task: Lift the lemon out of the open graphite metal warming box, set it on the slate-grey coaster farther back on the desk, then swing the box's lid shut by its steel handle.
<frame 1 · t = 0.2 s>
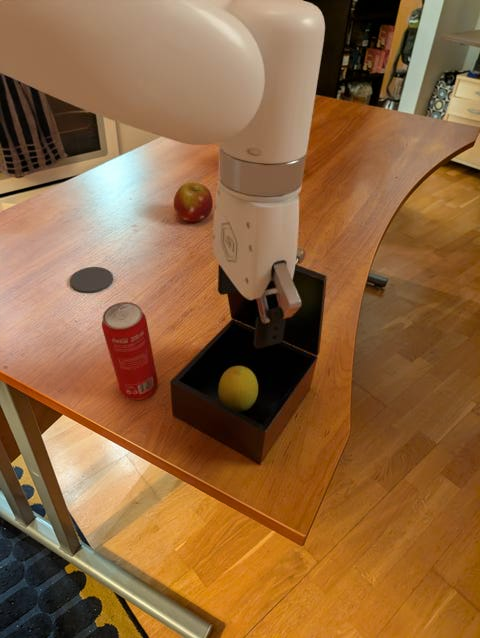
hand: (248, 316, 52), 21 cm above the table, tool pointing down, fingers open, 9 cm apart
warmer lid: (279, 289, 63), point 16 cm above the table, hinge at 75.0°
coaster: (91, 280, 89), on the table
warmer: (243, 402, 68), on the table
fruit: (193, 218, 110), on the table
liquor: (289, 178, 130), on the table
lemon: (236, 408, 67), point 1 cm above the table, touching warmer
beverage can: (136, 388, 70), on the table
smartphone: (289, 296, 89), on the table
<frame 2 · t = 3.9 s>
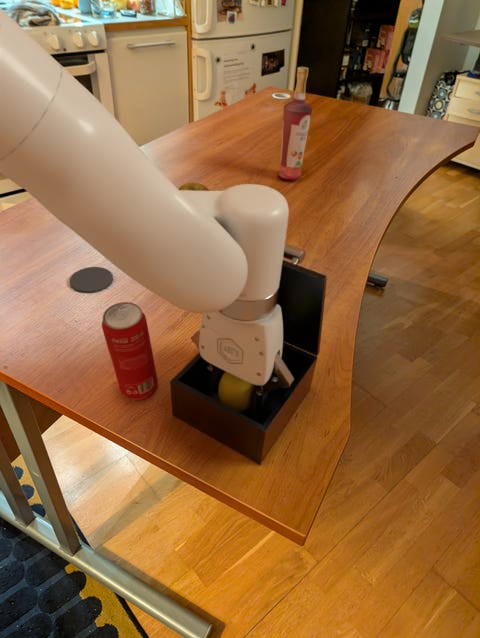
hand: (237, 394, 65), 4 cm above the table, tool pointing down, fingers closed on lemon, 5 cm apart
lemon: (236, 408, 67), point 1 cm above the table, touching gripper, warmer
everything else where it was.
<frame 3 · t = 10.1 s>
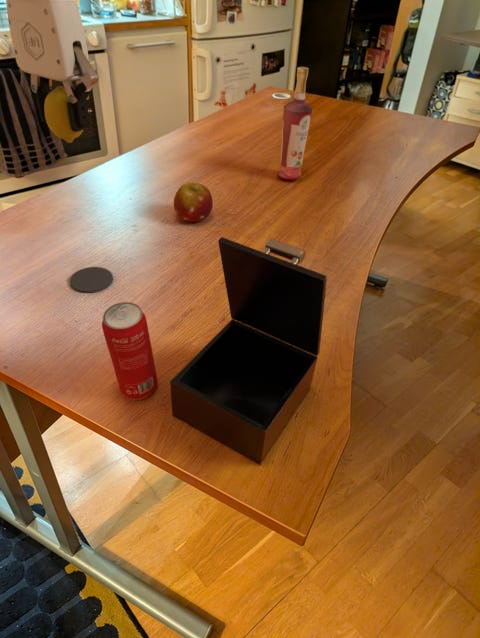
hand: (65, 123, 69), 30 cm above the table, tool pointing down, fingers closed on lemon, 5 cm apart
lemon: (70, 144, 71), point 27 cm above the table, touching gripper
everything else where it was.
when the fingers open (3 cm above the table, at t = 16.3 s): lemon stays where it is, resting on coaster.
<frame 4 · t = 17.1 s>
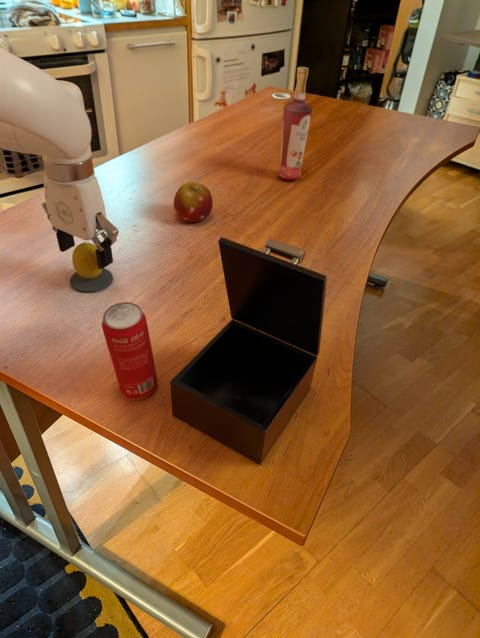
hand: (86, 256, 85), 6 cm above the table, tool pointing down, fingers open, 9 cm apart
lemon: (91, 279, 89), resting on coaster
everything else where it was.
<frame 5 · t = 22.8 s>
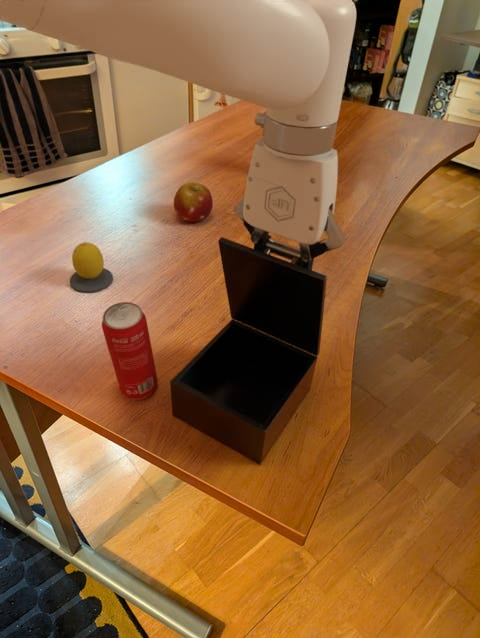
hand: (280, 272, 61), 19 cm above the table, tool pointing down, fingers closed on warmer lid, 5 cm apart
warmer lid: (279, 289, 63), point 16 cm above the table, hinge at 75.0°, touching gripper
everything else where it was.
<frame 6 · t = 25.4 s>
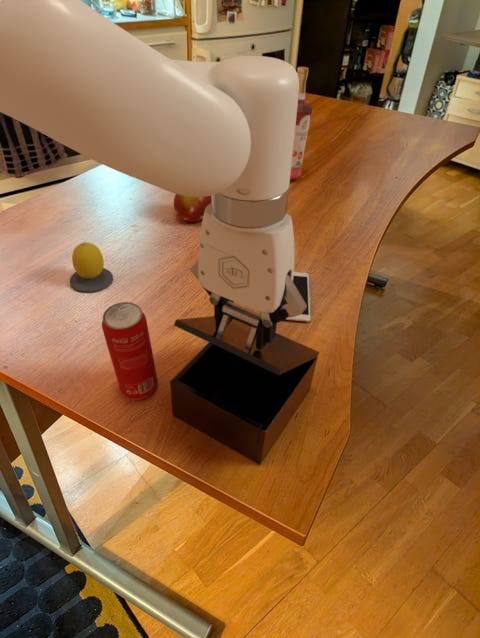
hand: (244, 332, 57), 15 cm above the table, tool pointing down, fingers closed on warmer lid, 5 cm apart
warmer lid: (257, 324, 61), point 14 cm above the table, hinge at 32.2°, touching gripper
everything else where it was.
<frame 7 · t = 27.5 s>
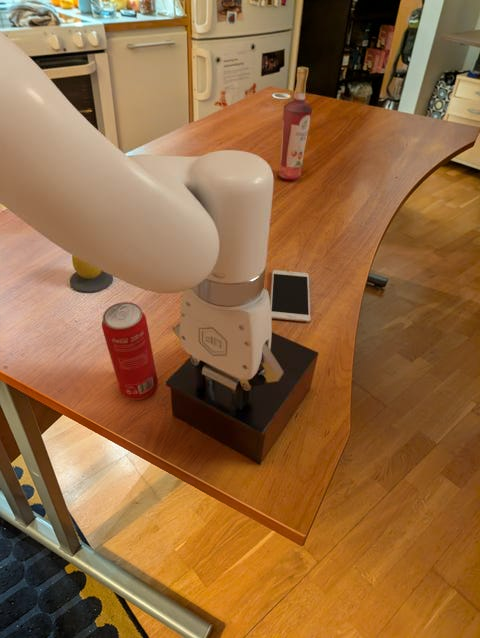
hand: (224, 390, 59), 8 cm above the table, tool pointing down, fingers closed on warmer lid, 5 cm apart
warmer lid: (246, 357, 62), point 10 cm above the table, hinge at -0.2°, touching gripper, warmer
everything else where it was.
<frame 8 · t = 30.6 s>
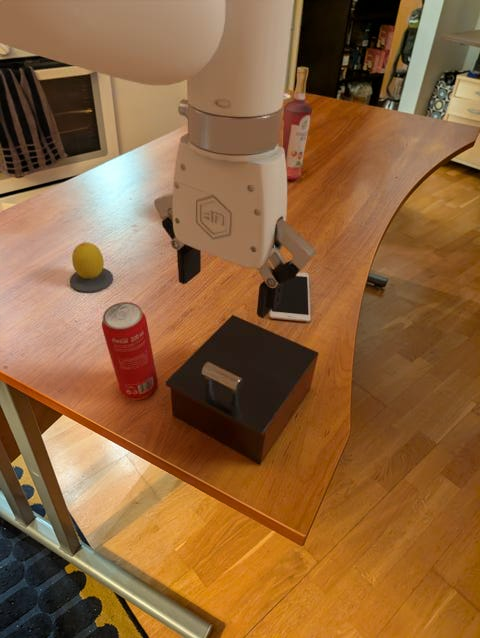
hand: (227, 293, 49), 24 cm above the table, tool pointing down, fingers open, 9 cm apart
warmer lid: (246, 357, 62), point 10 cm above the table, hinge at -0.2°, touching warmer
everything else where it was.
at the end: lemon 0.1 cm off-centre on the coaster, point 0.3 cm above the coaster's base; the gripper is holding nothing; warmer lid at +0° (first picture: +75°) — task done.
